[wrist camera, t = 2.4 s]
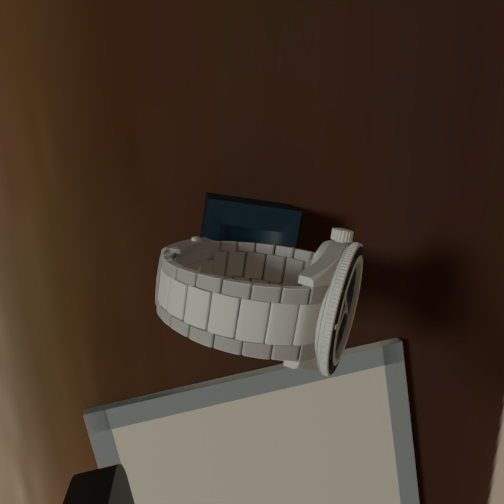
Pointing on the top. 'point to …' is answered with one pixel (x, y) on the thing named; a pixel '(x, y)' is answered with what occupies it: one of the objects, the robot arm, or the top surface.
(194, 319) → the watch
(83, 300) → the top surface
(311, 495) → the mat
